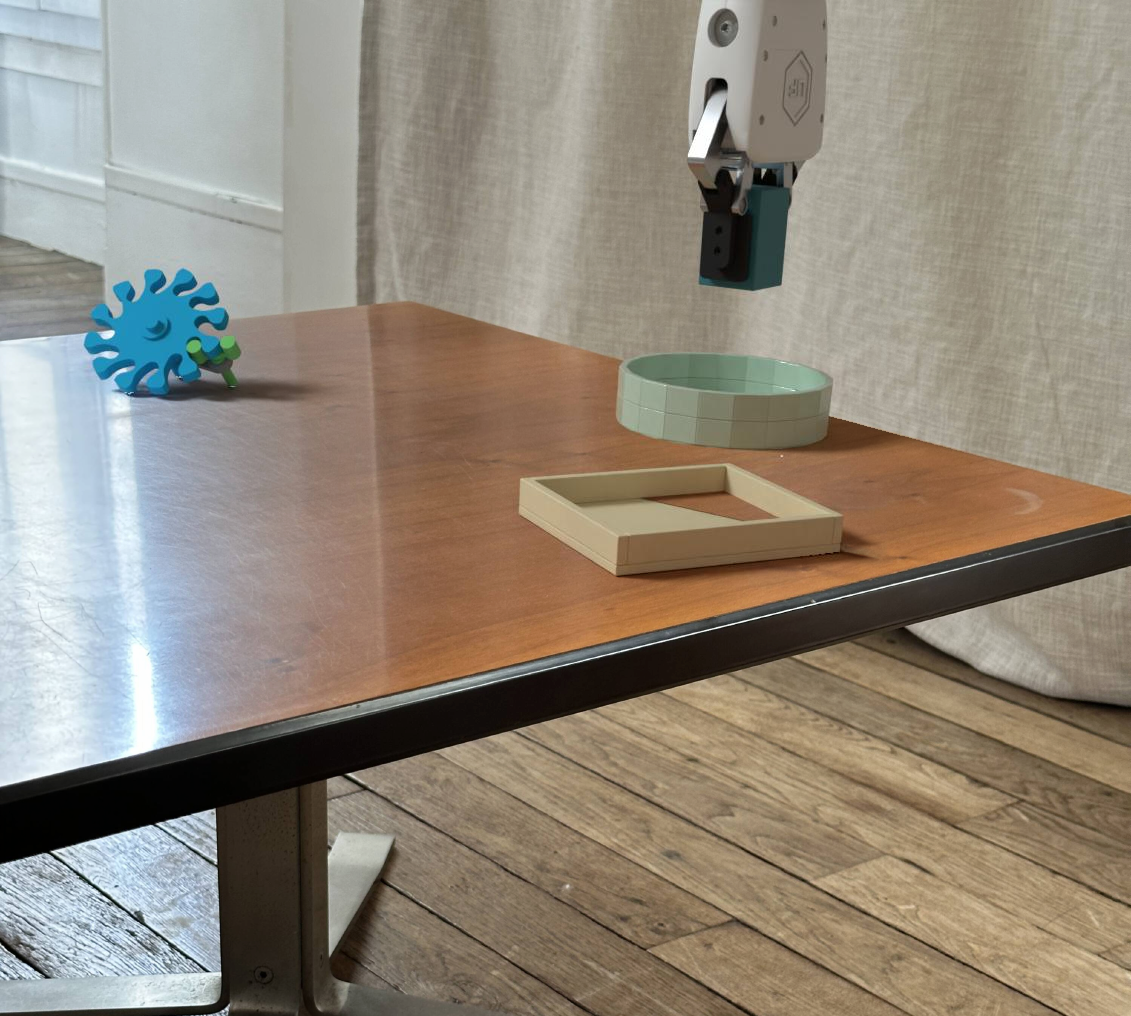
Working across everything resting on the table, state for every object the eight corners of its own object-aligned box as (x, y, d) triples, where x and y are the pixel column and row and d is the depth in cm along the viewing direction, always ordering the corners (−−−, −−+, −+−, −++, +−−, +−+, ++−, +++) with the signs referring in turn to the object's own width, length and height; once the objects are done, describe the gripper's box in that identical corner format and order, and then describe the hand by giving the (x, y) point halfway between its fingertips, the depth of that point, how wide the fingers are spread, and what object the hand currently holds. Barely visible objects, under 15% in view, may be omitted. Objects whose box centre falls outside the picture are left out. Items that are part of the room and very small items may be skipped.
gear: (53, 362, 108) (123, 246, 111) (89, 411, 113) (155, 299, 116) (193, 405, 105) (260, 285, 108) (223, 453, 111) (287, 338, 113)
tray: (726, 496, 92) (729, 462, 91) (840, 552, 83) (844, 515, 82) (518, 514, 86) (519, 477, 86) (615, 576, 77) (618, 536, 76)
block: (727, 279, 106) (735, 182, 103) (782, 285, 104) (790, 187, 101) (697, 284, 102) (704, 185, 100) (753, 291, 101) (761, 190, 98)
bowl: (752, 405, 116) (758, 348, 114) (868, 450, 104) (876, 389, 103) (580, 414, 110) (583, 355, 108) (682, 464, 99) (688, 399, 97)
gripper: (757, -51, 87) (730, 295, 95) (881, -32, 100) (848, 271, 107) (639, -52, 91) (623, 282, 98) (773, -33, 104) (749, 260, 111)
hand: (741, 273), depth 103 cm, fingers closed on block, 4 cm apart
